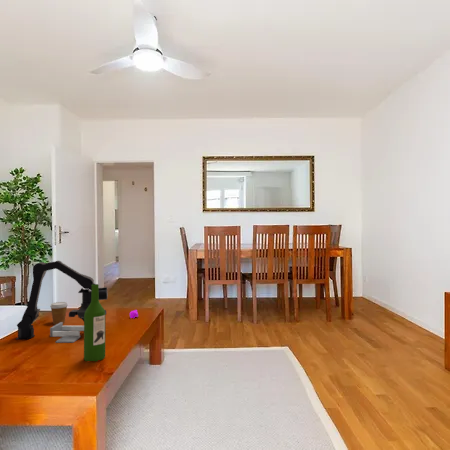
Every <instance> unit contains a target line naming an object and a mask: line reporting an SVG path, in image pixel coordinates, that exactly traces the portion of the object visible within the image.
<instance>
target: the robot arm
mask: <svg viewBox="0 0 450 450" xmlns="http://www.w3.org/2000/svg"><path fill="white" fill-rule="evenodd" d="M54 269H55V270H58V271H59V272H62V273H63V274H65V275H67V276H68V277H69V278H71V279H73V280H74V281H76V282H77V284H78V285H80V286H81V288H80V289H79V291H78V294H82V297H81V300H82V301H81V303H80V307H79V308H78V309H73V310H70V311H69V312H68V318H75V317H76V316H77V317H78V318H79V319H81V320H82V321H83V322H84V314H85V311H86V309H87V308H88V306H89V305H90V303H91V291H92V286H91V285H93V284H95V282H94V281H95V280H94V279H93V277H91V276H88V275H86V274H82V273H80V272H78V271H77V270H75V269H74V268H71V267H70V266H68V265H67V264H65V263H63V261H61V260H56V261H51V262H43V261H41V262H37V263H35V264H34V265H33V266H32V278H33V279H32V280H33V281H32V285H31V291H30V295H29V299H28V304H27V307H26V309H25V311H24V313H23V315H22V317H21V320H20V321H19V322H18V323H17V324H16V326H17V338H15V340H22V341H23V340H31V339H32V338H33V337H35V336H36V335H35V328H34V322H35V321H36V320H37V319H38V318H39V317H40V311H41V308H38V303H39V302H38V301H39V297H40V292H41V288H42V283H43V279H44V278H45V276H46V273H47V271H51V270H54ZM108 295H109V294H108V287H107V286H104V287H99V301H105V300H108ZM104 310H105V314H106V315H107V310H106V309H104Z"/></svg>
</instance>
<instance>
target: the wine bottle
mask: <svg viewBox="0 0 450 450" xmlns="http://www.w3.org/2000/svg"><path fill="white" fill-rule="evenodd" d="M91 286H92V290H90V291H91V303H90V305H89V306H88V308H87V309H86V311H85V314H84V321H83V326H84V331H83V360H84V361H85V362H87V361H95V362H99V361H98V360H100V361H102V360H104V359H105V358H106V315H107V313H106V314H105V310H106V309H105V308H104V307H103V306H102V304H101V303H100V300H99V288H100V287H99V286H100V284H98V283H94V284H93V285H91Z"/></svg>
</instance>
